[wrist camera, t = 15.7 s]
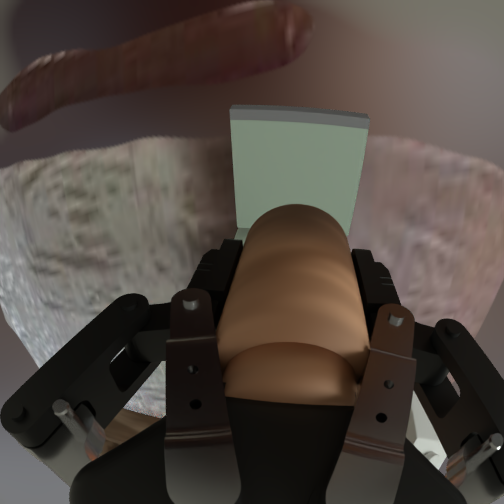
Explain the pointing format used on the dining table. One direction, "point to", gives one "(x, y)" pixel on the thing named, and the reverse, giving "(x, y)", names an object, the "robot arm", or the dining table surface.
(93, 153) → the dining table surface
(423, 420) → the milk carton
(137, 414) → the planter frame
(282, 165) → the panel
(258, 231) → the brown ridged cylinder
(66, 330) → the dining table surface
